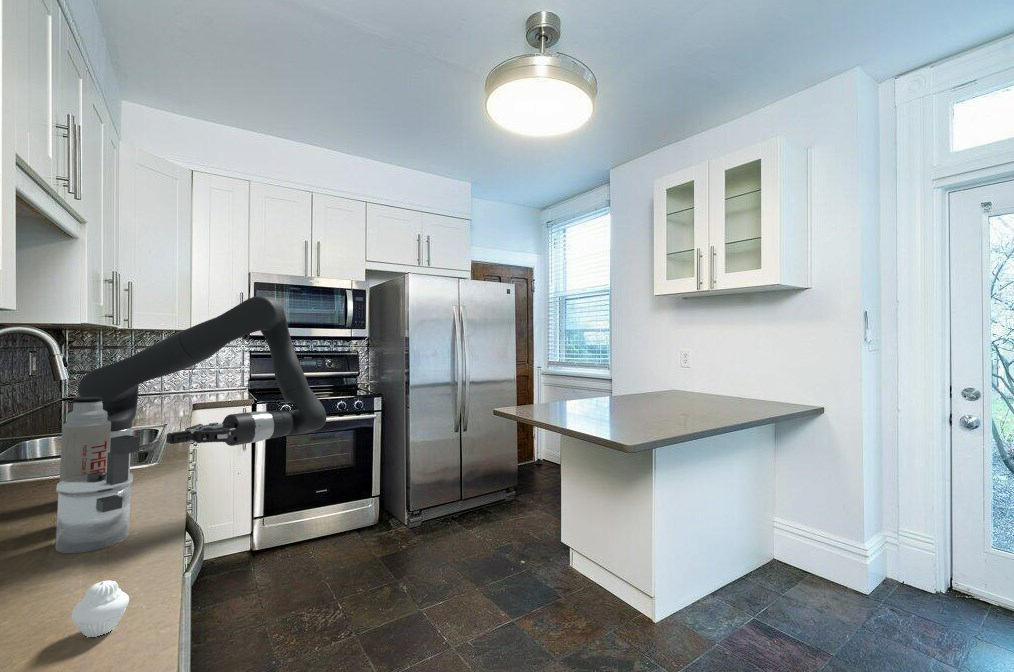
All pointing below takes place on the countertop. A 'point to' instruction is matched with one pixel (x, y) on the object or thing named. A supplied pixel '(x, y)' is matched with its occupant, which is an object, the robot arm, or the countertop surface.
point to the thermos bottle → (85, 439)
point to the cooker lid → (115, 470)
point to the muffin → (100, 609)
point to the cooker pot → (92, 520)
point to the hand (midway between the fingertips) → (168, 438)
